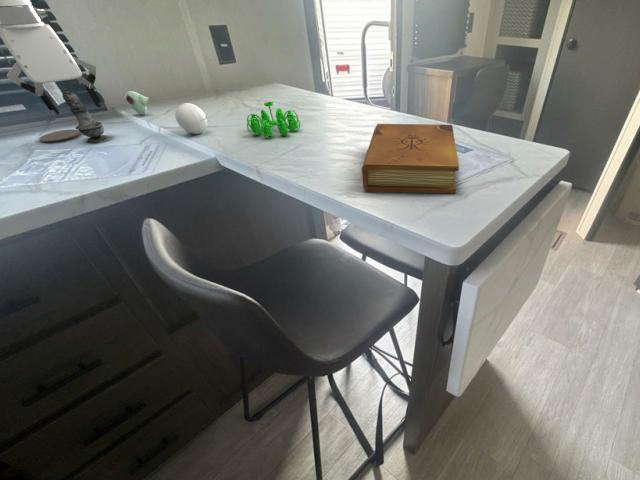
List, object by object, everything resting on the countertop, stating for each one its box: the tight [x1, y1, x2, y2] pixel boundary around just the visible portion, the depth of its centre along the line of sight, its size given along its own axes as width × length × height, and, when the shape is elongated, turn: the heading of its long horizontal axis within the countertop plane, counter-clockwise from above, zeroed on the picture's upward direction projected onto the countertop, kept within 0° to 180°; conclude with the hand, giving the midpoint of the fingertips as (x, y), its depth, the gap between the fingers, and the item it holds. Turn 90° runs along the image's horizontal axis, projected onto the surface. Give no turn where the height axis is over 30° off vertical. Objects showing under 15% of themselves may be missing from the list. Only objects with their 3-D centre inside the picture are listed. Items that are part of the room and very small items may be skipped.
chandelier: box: [246, 101, 301, 139], centre depth 87 cm, size 15×15×7 cm
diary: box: [361, 123, 460, 195], centre depth 69 cm, size 23×19×6 cm
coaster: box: [39, 128, 82, 144], centre depth 87 cm, size 9×9×1 cm
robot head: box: [123, 90, 150, 116], centre depth 98 cm, size 8×4×7 cm, turn 80°
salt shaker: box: [62, 87, 111, 144], centre depth 81 cm, size 6×6×12 cm
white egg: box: [174, 102, 208, 135], centre depth 87 cm, size 10×7×7 cm
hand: (78, 109), depth 80 cm, fingers open, 8 cm apart
